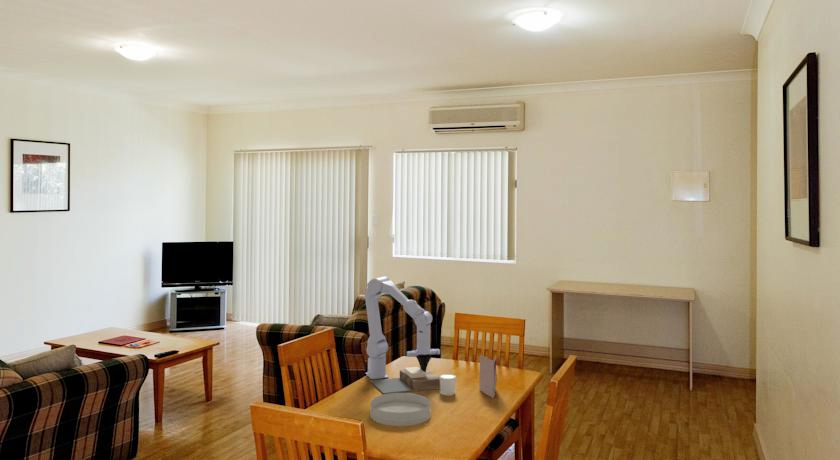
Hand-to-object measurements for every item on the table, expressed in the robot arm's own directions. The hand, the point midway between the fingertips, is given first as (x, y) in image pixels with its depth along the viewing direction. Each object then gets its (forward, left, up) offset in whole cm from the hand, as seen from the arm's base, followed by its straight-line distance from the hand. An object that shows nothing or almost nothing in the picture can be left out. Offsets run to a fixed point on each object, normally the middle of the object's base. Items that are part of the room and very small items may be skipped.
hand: (423, 372), depth 260 cm
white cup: (+16, +4, -5) cm, 17 cm away
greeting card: (+22, +19, -5) cm, 30 cm away
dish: (+33, -22, -5) cm, 40 cm away
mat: (0, -14, -5) cm, 15 cm away
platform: (0, -2, -5) cm, 5 cm away
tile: (0, -4, 0) cm, 4 cm away
